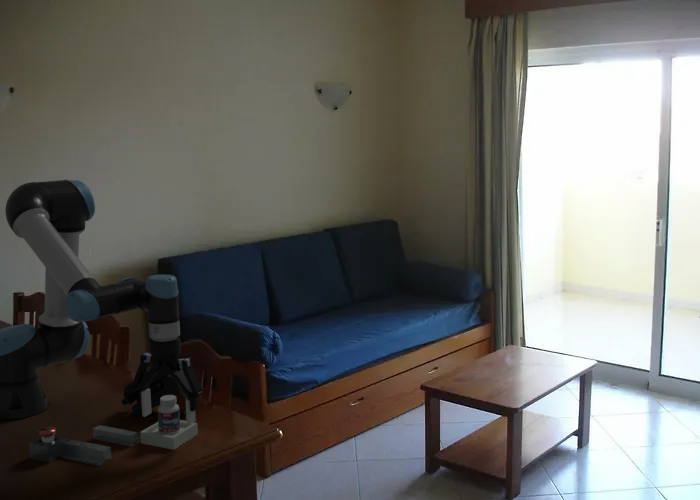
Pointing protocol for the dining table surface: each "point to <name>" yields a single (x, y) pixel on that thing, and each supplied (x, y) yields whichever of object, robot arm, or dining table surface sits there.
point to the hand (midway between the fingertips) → (168, 418)
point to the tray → (168, 441)
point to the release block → (47, 449)
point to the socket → (96, 452)
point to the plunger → (47, 434)
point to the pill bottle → (168, 415)
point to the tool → (156, 393)
